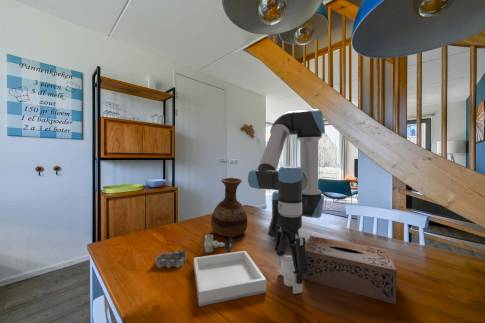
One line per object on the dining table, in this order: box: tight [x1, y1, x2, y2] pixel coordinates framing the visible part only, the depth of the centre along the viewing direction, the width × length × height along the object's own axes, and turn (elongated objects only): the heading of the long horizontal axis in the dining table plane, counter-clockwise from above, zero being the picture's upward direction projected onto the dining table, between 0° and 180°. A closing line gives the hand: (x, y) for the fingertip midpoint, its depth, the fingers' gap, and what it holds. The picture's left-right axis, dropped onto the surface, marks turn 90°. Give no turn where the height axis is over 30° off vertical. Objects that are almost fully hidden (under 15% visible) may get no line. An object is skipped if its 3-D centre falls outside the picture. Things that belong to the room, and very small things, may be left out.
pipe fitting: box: [277, 255, 295, 287], centre depth 67 cm, size 6×7×8 cm
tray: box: [193, 250, 267, 307], centre depth 68 cm, size 20×20×4 cm
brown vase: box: [210, 177, 248, 238], centre depth 111 cm, size 20×20×30 cm
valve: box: [203, 234, 234, 253], centre depth 89 cm, size 7×7×12 cm
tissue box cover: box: [303, 235, 398, 305], centre depth 70 cm, size 26×14×10 cm, turn 62°
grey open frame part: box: [154, 249, 187, 269], centre depth 79 cm, size 11×8×4 cm
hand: (288, 282), depth 67 cm, fingers open, 9 cm apart
